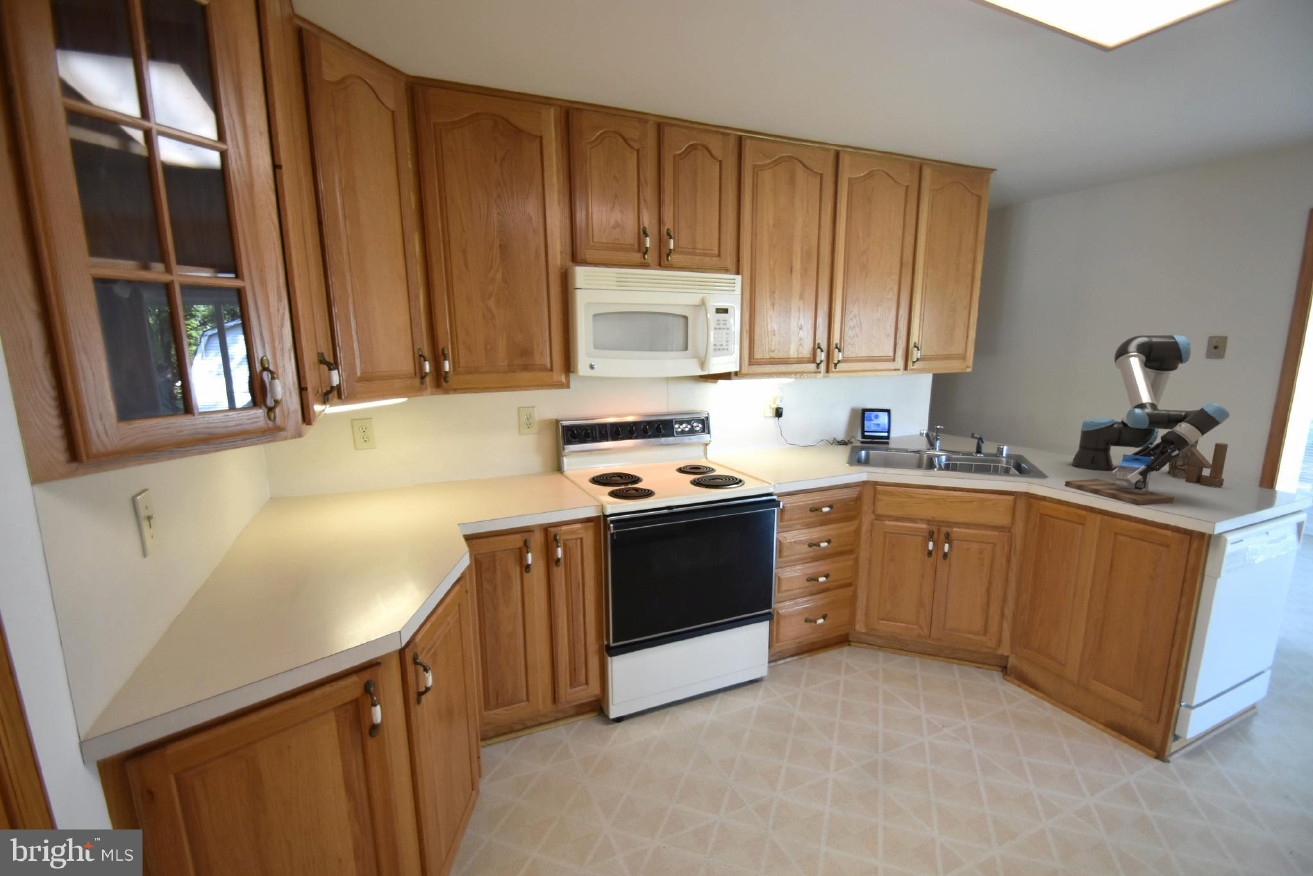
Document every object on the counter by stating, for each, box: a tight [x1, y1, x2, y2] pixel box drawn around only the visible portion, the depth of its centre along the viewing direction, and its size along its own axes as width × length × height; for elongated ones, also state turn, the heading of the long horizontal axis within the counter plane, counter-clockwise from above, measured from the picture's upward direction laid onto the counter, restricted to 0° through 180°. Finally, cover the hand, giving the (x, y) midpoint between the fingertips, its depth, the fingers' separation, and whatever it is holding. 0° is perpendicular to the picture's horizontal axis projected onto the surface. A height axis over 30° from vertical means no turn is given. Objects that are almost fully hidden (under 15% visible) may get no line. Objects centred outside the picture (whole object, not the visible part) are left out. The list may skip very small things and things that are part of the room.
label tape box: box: [1115, 453, 1153, 491], centre depth 200 cm, size 9×4×12 cm, turn 35°
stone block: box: [1167, 438, 1200, 480], centre depth 234 cm, size 13×7×20 cm, turn 153°
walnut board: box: [1064, 478, 1175, 506], centre depth 206 cm, size 28×16×2 cm, turn 12°
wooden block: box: [1185, 442, 1229, 488], centre depth 219 cm, size 4×11×18 cm, turn 16°
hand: (1122, 477), depth 201 cm, fingers closed on label tape box, 8 cm apart
